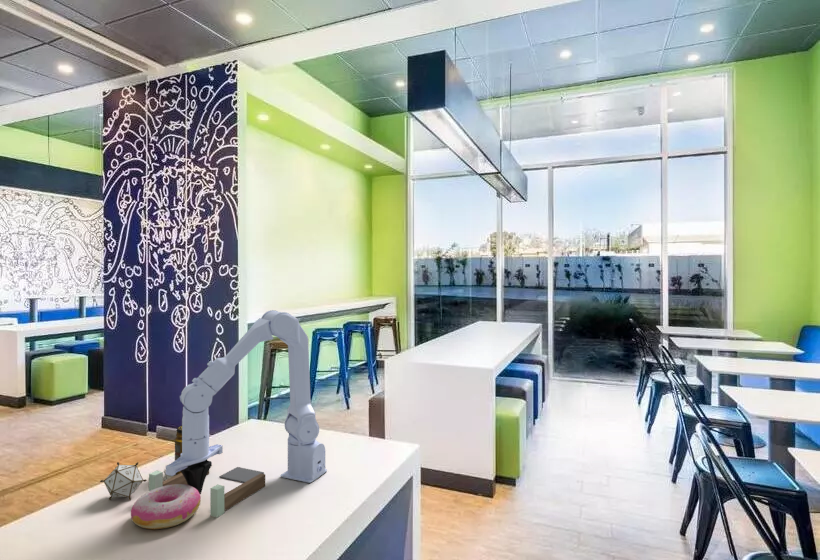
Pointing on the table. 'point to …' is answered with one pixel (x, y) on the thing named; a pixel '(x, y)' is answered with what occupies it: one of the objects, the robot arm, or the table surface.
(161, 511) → the donut
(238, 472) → the grey flat panel
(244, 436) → the table surface
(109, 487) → the game die
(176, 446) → the condiment
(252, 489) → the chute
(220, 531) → the table surface
